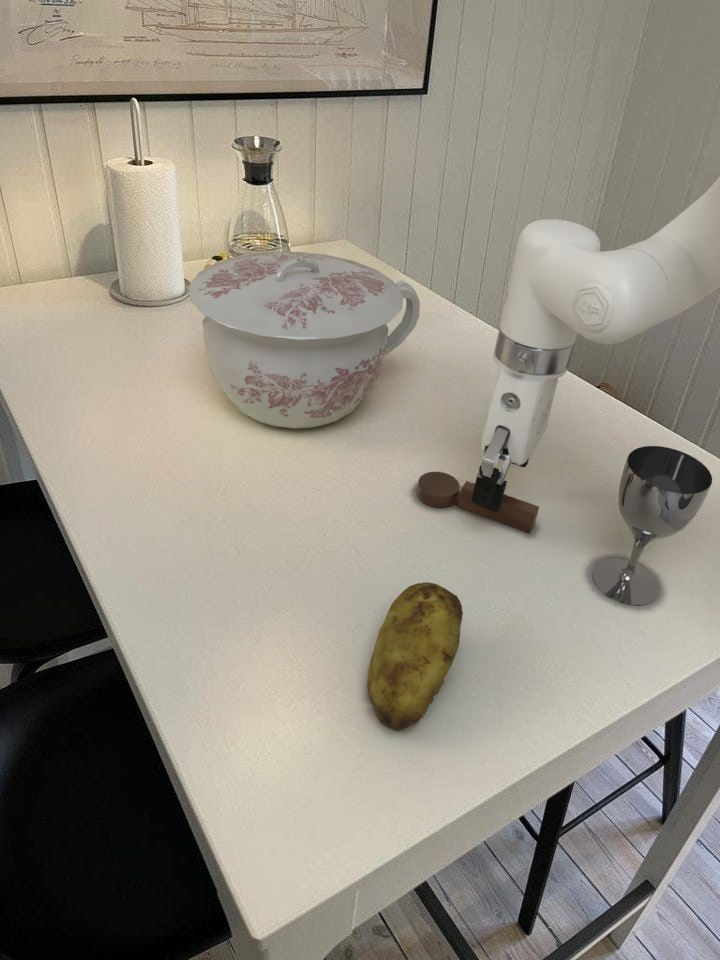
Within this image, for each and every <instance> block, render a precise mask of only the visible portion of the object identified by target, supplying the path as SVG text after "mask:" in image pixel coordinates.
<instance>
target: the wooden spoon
mask: <svg viewBox="0 0 720 960" xmlns="http://www.w3.org/2000/svg"><path fill="white" fill-rule="evenodd" d="M417 482H418V483H417V487H416V497H417V499H418V500H419V501H420V502H421V503H422V504H423V505H424V506H425V505H426V506H428V507H430V508H435V509H446V508H450V507H452V506H456V507H457V508H458V509H462V510H464V511H467V512H470V513H472V514H475V515H478V516H480V517H483V518H486V519H488V520H491V521H494V522H497V523H499V524H502V525H505V526H508V527H510V528H513V529H516V530H519V531H521V532H523V533H526V534H529V535H530V534H531V533H532V532H533V529H534V527H535V525H536V520H537V517H538V514H539V510H540V506H539V505H537V504H534V503H530V502H528V501H524V500H522V499H519V498H516V497H514V496H510V495H508V494H505V493H504V495H503V499H502V503H501V507H500V509H499V511H497V512H495V511H492V510H490V509H487V508H484V507H482V506H479V505H476V504H474V503H473V502H472V501H471V500H472V495H473V491H474V486H475V483H474V482H472V481H468V480H466V481H465V482H464V483H463V485H462V486H461V485H460V482H459V480H458V479H457V478H456V477H454V476H453V475H452V474H449V473H447V472H442V471H428V472H425V473H423V474H421V476H419V478H418V480H417ZM460 488H461V489H460Z"/></svg>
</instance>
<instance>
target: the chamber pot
mask: <svg viewBox="0 0 720 960" xmlns="http://www.w3.org/2000/svg"><path fill="white" fill-rule="evenodd" d="M188 294H189V302H191V303H192V305H193V306H194V307H195V308H197V310H198V311H199V312H200V313H201V314H202V315H203V316H204V318H203V319H202V337H203V338H202V339H203V346H204V353H205V356H206V359H207V363H208V366H209V370H210V374H211V377H212V379H213V380H214V381H215V383H216V384H217V385H218V386H219V388H220V389H221V390H222V391H223V393H224V394H225V395H226V397H227V398H228V399H229V401H230V402H231V403H232V404H233V405H234V406H235V408H236V409H237V410H238V411H239V412H241V413H243V415H245V416H247V417H249V418H251V419H253V420H254V421H256V422H259V423H262V424H266V425H269V426H272V427H277V428H284V429H285V428H286V429H287V428H288V429H295V430H296V429H311V428H318V427H322V426H326V425H329V424H333V423H335V422H337V421H339V420H341V419H342V418H344V417H346V416H348V415H349V414H351V413H352V412H353V411H354V410H355V408H356V407H357V406H358V405H359V404H360V403H361V401H362V400H364V398H365V397H366V395H368V394H369V392H370V391H371V390H372V389H373V388H374V386H376V385H377V383H378V381H379V377H380V375H381V372H382V368H383V367H384V366H383V365H384V364H385V360H386V357H387V356H388V355H389V354H390V353H391V352H393V351H394V350H395V349H397V348H398V347H399V346H400V345H401V344H403V343H404V342H405V340H406V339H407V338H408V336H409V335H410V334H411V333H412V332H413V331H414V329H415V328H416V326H417V323H418V320H419V319H420V309H421V303H420V299H419V296H418V294H417V292H416V290H415V289H414V287H413V286H412V285H411V284H409V283H408V282H406V281H405V280H398V281H397V282H396V283H395V281H394V280H393V279H391V278H390V277H388V276H386V275H385V274H384V273H382V272H381V271H379V270H377V269H376V268H373V267H370V266H369V265H366V264H363V263H361V262H358V261H356V260H351V259H348V258H342V257H340V256H339V257H338V256H334V255H330V254H324V253H314V252H304V251H264V252H256V253H250V254H241V255H240V254H239V255H237V256H233V257H230V258H227V259H223V260H220V261H217V262H215V263H213V264H211V265H209V266H208V267H205V268H204V269H202V270H201V271H199V272H197V274H196V276H195V277H194V278H193V280H192V281H191V282H190V284H189V286H188ZM404 299H405V311H404V314H403V316H402V319H401V321H400V323H398V325H396V327H395V328H394V329H393V330H392V331H391V333H390V334H389V326H388V325H387V324H388V323H390V322H392V320H393V319H394V318H396V317H397V315H398V314H399V313H400V312H401V311H402V310H403V304H404Z"/></svg>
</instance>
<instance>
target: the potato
mask: <svg viewBox="0 0 720 960" xmlns="http://www.w3.org/2000/svg"><path fill="white" fill-rule="evenodd" d="M463 614H464V612H463V605H462V603H461V600H460V599H459V597H458V596H457V594H454V593H453V592H451V591H450V590H448V589H446V588H445V587H443V586H441V585H440V584H437V583H434V582H428V581H425V582H417V583H415V584H412V585H409V586H408V587H406V588H405V589H404V590H403V591H402V592H401V593H399V594H398V596H397V597H396V598H395V599H394V600H393V602H392V603H391V605H390V607H389V608H388V611H387V613H386V616H385V618H384V621H383V623H382V624H381V626H380V628H379V630H378V635H377V638H376V641H375V644H374V648H373V650H372V653H371V657H370V660H369V665H368V670H367V678H366V679H367V681H366V689H367V694H368V698H369V700H370V704H371V706H372V709H373V711H374V714H375V717H376V718H377V720H378V721H379V723H381V724H382V725H383V726H385V727H387V728H389V729H391V730H394V731H396V732H401V731H404V730H407V729H409V728H411V727H412V726H415V725H416V724H418V723H419V722H420V721H421V720H422V719H423V717H424V716H425V714H426V713H427V710H428V708H429V706H430V705H431V704H432V703H433V701H434V699H435V697H436V696H437V695H438V694H439V692H440V690H441V688H442V687H443V684H444V683H445V679H446V677H447V676H448V673H449V671H450V669H451V666H452V665H453V662H454V660H455V658H456V655H457V653H458V649H459V646H460V639H461V626H462V622H463Z"/></svg>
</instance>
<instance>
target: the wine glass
mask: <svg viewBox="0 0 720 960" xmlns="http://www.w3.org/2000/svg"><path fill="white" fill-rule="evenodd" d="M712 484H713V476H712V473H711V472H710V470H709V468H707V466H706V465H705V464H704V463H703V462H701V460H698V459H697V458H696V457H694V456H692V455H691V454H688V453H686V452H685V451H681V450H678V449H675V448H670V447H668V446H661V445H646V446H645V445H644V446H639V447H637V448H635V449H633V450H631V452H629V454H628V455H627V458H626V461H625V464H624V467H623V470H622V473H621V477H620V481H619V485H618V486H619V487H618V499H617V500H618V510H619V512H620V515H621V517H622V519H623V520H624V522H625V524H626V525H627V527H628V528H629V529H630V531H631V534H632V538H633V544H632V550H631V553H630V557H629V559H628V560H627V559H622V558H608V559H604V560H600V561H599V562H597V563H596V565H595V564H594V567H593V568H592V572H591V577H592V580H593V582H594V585H595V586H596V587H597V589H598V590H599V591H600V592H601V593H602V594H604V595H605V596H606V597H608V598H610V599H611V600H613V601H615V602H618V603H620V604H624V605H628V606H646V605H649V604H652V603H654V602H655V601H656V600H657V599H658V598H659V595H660V592H661V591H660V585H659V582H658V580H657V578H656V577H655V576H654V575H653V573H652V572H650V571H649V570H648V569H647V568H645V567H643V566H641V565H640V564H638V561H639V559H640V558H641V556H642V554H643V553H644V551H645V549H646V548H647V546H649V544H651V543H652V542H655V541H656V540H660V539H664V538H668V537H671V536H674V535H676V534H678V533H680V532H681V531H683V530H684V529H685V528H686V527H687V526H688V525H689V524H690V523H691V522H692V520H693V519H694V518H695V516H697V514H698V512H699V511H700V509H701V508H702V505H703V504H704V502H705V500H706V498H707V496H708V494H709V492H710V489H711V487H712Z"/></svg>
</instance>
